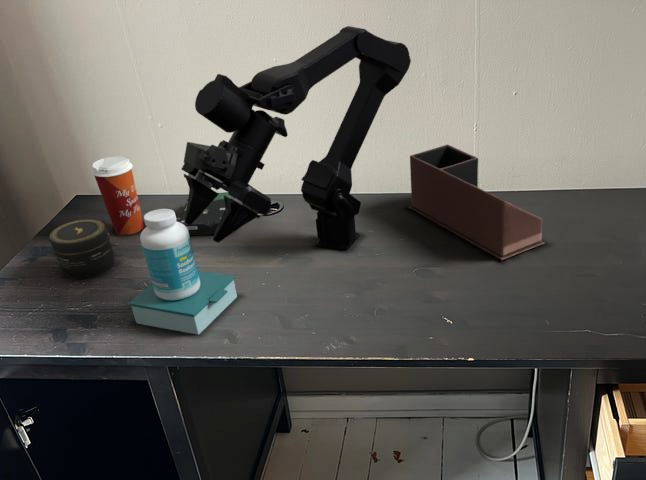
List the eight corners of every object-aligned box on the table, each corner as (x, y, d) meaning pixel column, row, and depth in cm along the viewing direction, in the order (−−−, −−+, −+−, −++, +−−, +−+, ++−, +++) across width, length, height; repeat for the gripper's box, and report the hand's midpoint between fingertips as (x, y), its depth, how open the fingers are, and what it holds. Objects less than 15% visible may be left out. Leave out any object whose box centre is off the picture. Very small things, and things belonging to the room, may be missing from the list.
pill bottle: (194, 302, 117) (174, 225, 109) (149, 302, 118) (126, 225, 110) (206, 278, 123) (189, 204, 115) (164, 279, 124) (143, 204, 116)
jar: (95, 250, 142) (84, 214, 138) (128, 263, 138) (117, 225, 133) (50, 272, 136) (36, 235, 131) (83, 286, 131) (69, 248, 127)
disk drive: (229, 234, 145) (239, 202, 157) (227, 222, 144) (237, 190, 156) (177, 238, 145) (191, 205, 157) (174, 225, 144) (188, 193, 156)
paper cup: (137, 238, 146) (118, 170, 138) (102, 236, 147) (81, 169, 139) (155, 220, 152) (138, 155, 144) (122, 219, 153) (102, 154, 145)
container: (244, 297, 125) (240, 277, 123) (205, 337, 116) (200, 315, 114) (177, 286, 130) (172, 266, 127) (134, 323, 120) (128, 303, 118)
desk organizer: (448, 194, 156) (448, 142, 149) (545, 244, 136) (549, 186, 129) (408, 208, 151) (405, 155, 144) (501, 262, 131) (503, 203, 124)
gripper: (179, 108, 117) (133, 194, 118) (241, 134, 106) (189, 230, 107) (230, 142, 126) (187, 222, 127) (293, 170, 114) (245, 258, 115)
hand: (200, 232), depth 119 cm, fingers open, 9 cm apart
